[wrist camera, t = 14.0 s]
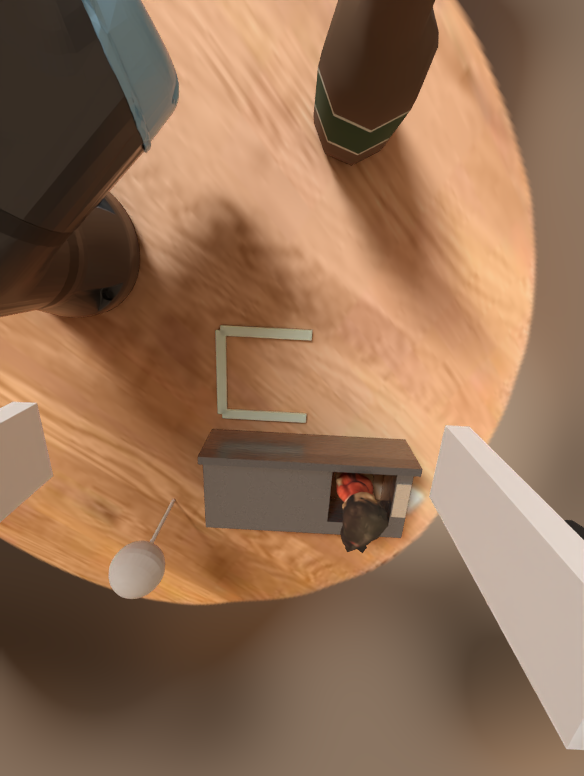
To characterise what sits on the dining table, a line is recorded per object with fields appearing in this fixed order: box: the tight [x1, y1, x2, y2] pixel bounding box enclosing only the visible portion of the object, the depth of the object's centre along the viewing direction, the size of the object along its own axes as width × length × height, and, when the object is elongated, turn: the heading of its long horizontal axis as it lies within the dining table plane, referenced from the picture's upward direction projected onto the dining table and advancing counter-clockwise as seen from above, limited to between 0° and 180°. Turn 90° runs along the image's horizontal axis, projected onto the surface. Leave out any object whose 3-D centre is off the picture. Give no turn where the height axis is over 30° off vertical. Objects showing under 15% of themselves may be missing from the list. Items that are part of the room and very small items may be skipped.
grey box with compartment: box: [198, 429, 422, 538], centre depth 46 cm, size 26×12×7 cm, turn 87°
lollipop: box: [109, 499, 175, 599], centre depth 44 cm, size 6×6×15 cm
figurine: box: [335, 472, 389, 553], centre depth 43 cm, size 6×6×12 cm
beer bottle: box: [314, 0, 439, 165], centre depth 23 cm, size 8×8×24 cm
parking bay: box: [215, 325, 312, 423], centre depth 44 cm, size 12×12×1 cm
